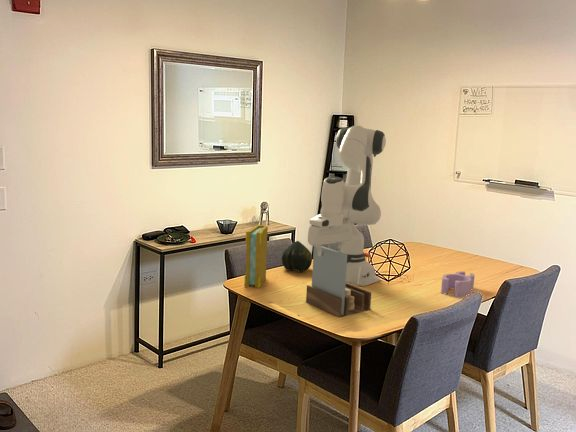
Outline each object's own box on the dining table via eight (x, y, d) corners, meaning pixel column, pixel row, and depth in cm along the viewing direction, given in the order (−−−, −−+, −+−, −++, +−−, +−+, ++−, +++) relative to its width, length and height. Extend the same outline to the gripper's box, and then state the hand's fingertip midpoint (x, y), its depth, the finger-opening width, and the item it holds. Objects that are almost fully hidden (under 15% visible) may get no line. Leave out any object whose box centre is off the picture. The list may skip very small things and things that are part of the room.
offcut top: (334, 289, 239) (335, 283, 238) (350, 295, 231) (350, 289, 230) (325, 290, 236) (325, 284, 236) (340, 297, 228) (341, 291, 227)
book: (258, 287, 257) (260, 232, 253) (244, 286, 259) (245, 231, 254) (267, 277, 274) (269, 225, 269) (254, 276, 275) (255, 224, 270)
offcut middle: (332, 294, 239) (333, 289, 239) (354, 303, 230) (354, 296, 230) (324, 297, 236) (324, 291, 235) (345, 305, 227) (345, 299, 227)
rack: (336, 298, 248) (337, 279, 246) (371, 312, 231) (373, 292, 230) (303, 305, 237) (304, 285, 235) (338, 321, 221) (339, 300, 219)
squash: (295, 265, 276) (308, 239, 281) (272, 260, 285) (285, 235, 291) (309, 280, 285) (321, 255, 291) (286, 275, 295) (298, 250, 300)
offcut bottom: (330, 299, 241) (331, 293, 240) (354, 309, 230) (354, 303, 229) (321, 301, 238) (322, 295, 237) (345, 311, 227) (345, 305, 226)
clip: (454, 283, 277) (455, 269, 276) (479, 289, 269) (481, 275, 268) (435, 292, 262) (436, 277, 261) (461, 299, 254) (463, 284, 253)
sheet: (313, 301, 238) (316, 244, 233) (343, 314, 224) (347, 254, 219) (310, 301, 237) (313, 244, 233) (340, 315, 223) (344, 254, 219)
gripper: (345, 215, 232) (343, 249, 235) (306, 220, 220) (304, 255, 223) (356, 218, 228) (354, 252, 230) (316, 223, 215) (315, 259, 218)
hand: (329, 254), depth 226 cm, fingers open, 8 cm apart
